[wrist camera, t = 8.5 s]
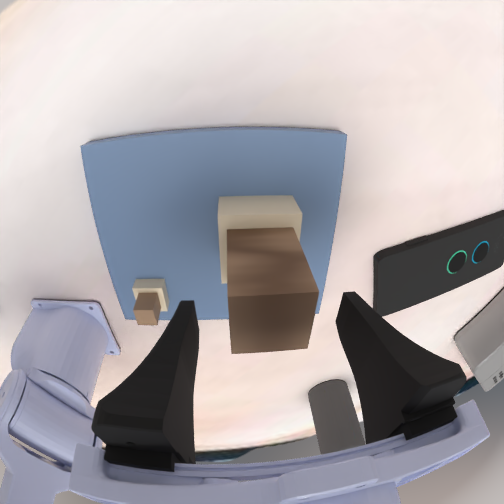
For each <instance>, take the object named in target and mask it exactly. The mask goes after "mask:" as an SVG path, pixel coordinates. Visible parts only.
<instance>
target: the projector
mask: <svg viewBox="0 0 504 504" xmlns="http://www.w3.org/2000/svg"><path fill="white" fill-rule="evenodd" d="M454 340H455V342H456V345H457V347H458V349H459V350H460V352H461V354H462V355H463V357H464V359H465V360H466V362H467V364H468V366H469V367H470V369H471V371H472V373H473V374H474V376H475V377H476V379H477V380H478V382H479V383H480V384H481V386H482V388H483V389H484V391H489V390H490V389H491V388H493V387H494V386H495V385H496V384H497V383H498V382H500V381H501V380H502V379H503V378H504V289H503V290H502V291H501V292H500V293H499V294H498V295H497V296H496V297H495V298H494V299H493V300H492V301H491V302H490V303H489V304H488V305H487V306H486V307H485V308H484V309H483V310H482V311H481V312H480V313H479V314H478V315H477V316H476V317H475V318H474V319H473V320H472V321H471V322H470V323H468V324H467V325H466V326H465V327H464V328H463V329H462V330H460V331H459V332H458V333H457V334H456V336H455V339H454Z"/></svg>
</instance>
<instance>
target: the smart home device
mask: <svg viewBox="0 0 504 504" xmlns="http://www.w3.org/2000/svg"><path fill="white" fill-rule="evenodd" d="M503 262H504V210H502V211H499V212H497V213H494V214H491V215H488V216H485V217H482V218H479V219H476V220H474V221H471V222H468V223H465V224H462V225H459V226H456V227H453V228H450V229H447V230H444V231H441V232H437V233H434V234H431V235H428V236H423V237H420V238H417V239H414V240H411V241H407V242H405V243H403V244H400V245H396V246H393V247H390V248H387V249H384V250H381V251H379V252H377V253H376V254H375V255H374V297H373V309H374V310H375V311H376V312H377V313H378V314H379V315H380V316H381V317H383V316H386V315H389V314H392V313H395V312H397V311H400V310H403V309H406V308H408V307H411V306H414V305H416V304H419V303H421V302H424V301H426V300H429V299H431V298H434V297H436V296H439V295H441V294H444V293H446V292H448V291H451V290H453V289H455V288H458V287H460V286H462V285H464V284H467V283H469V282H471V281H473V280H475V279H477V278H480V277H482V276H484V275H486V274H488V273H490V272H492V271H494V270H496V269H498V268H499V267H501V266H502V265H503Z"/></svg>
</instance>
